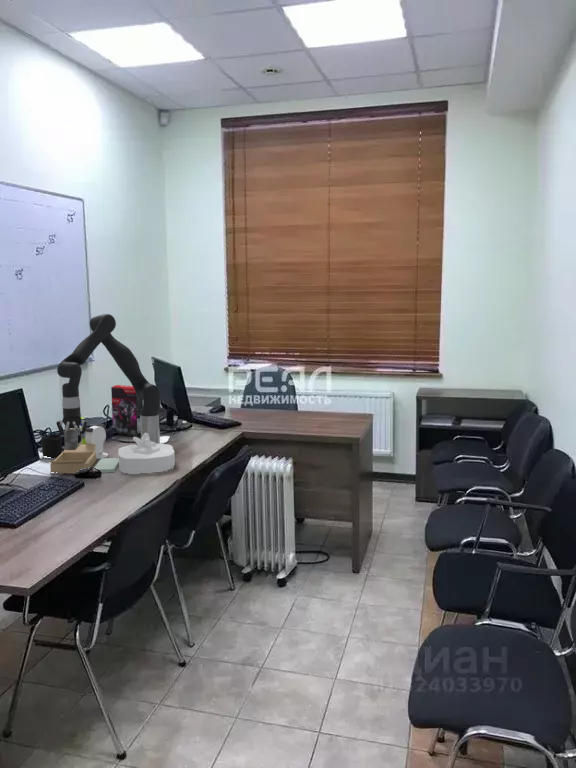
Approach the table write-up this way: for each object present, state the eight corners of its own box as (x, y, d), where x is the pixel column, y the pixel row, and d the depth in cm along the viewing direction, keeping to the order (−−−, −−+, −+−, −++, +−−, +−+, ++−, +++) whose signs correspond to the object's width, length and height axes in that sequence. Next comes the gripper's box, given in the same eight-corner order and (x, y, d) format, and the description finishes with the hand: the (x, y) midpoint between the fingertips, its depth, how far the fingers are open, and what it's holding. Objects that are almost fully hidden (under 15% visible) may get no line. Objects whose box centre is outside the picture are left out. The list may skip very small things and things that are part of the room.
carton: (98, 458, 303) (98, 444, 302) (84, 476, 276) (84, 460, 275) (64, 458, 302) (63, 444, 301) (47, 476, 274) (46, 460, 273)
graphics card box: (111, 434, 352) (110, 386, 348) (119, 431, 358) (117, 384, 354) (137, 437, 346) (135, 388, 341) (144, 434, 352) (143, 386, 348)
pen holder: (60, 458, 303) (59, 438, 301) (40, 459, 301) (39, 439, 299) (64, 453, 312) (63, 433, 310) (44, 454, 310) (43, 434, 309)
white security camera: (94, 451, 316) (93, 422, 313) (113, 454, 312) (112, 424, 309) (79, 457, 305) (77, 427, 302) (98, 460, 301) (97, 429, 298)
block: (82, 442, 294) (81, 425, 293) (75, 450, 281) (74, 432, 280) (72, 442, 294) (71, 426, 292) (65, 450, 281) (64, 432, 280)
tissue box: (119, 476, 278) (118, 440, 275) (118, 460, 301) (117, 427, 299) (176, 472, 284) (176, 437, 282) (171, 457, 308) (170, 425, 306)
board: (120, 461, 299) (120, 458, 299) (113, 472, 282) (113, 469, 282) (101, 461, 299) (101, 458, 298) (93, 472, 281) (93, 469, 281)
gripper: (89, 404, 288) (91, 440, 291) (57, 404, 287) (59, 441, 290) (85, 407, 281) (87, 444, 284) (52, 408, 280) (54, 445, 282)
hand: (73, 442), depth 287 cm, fingers closed on block, 4 cm apart
